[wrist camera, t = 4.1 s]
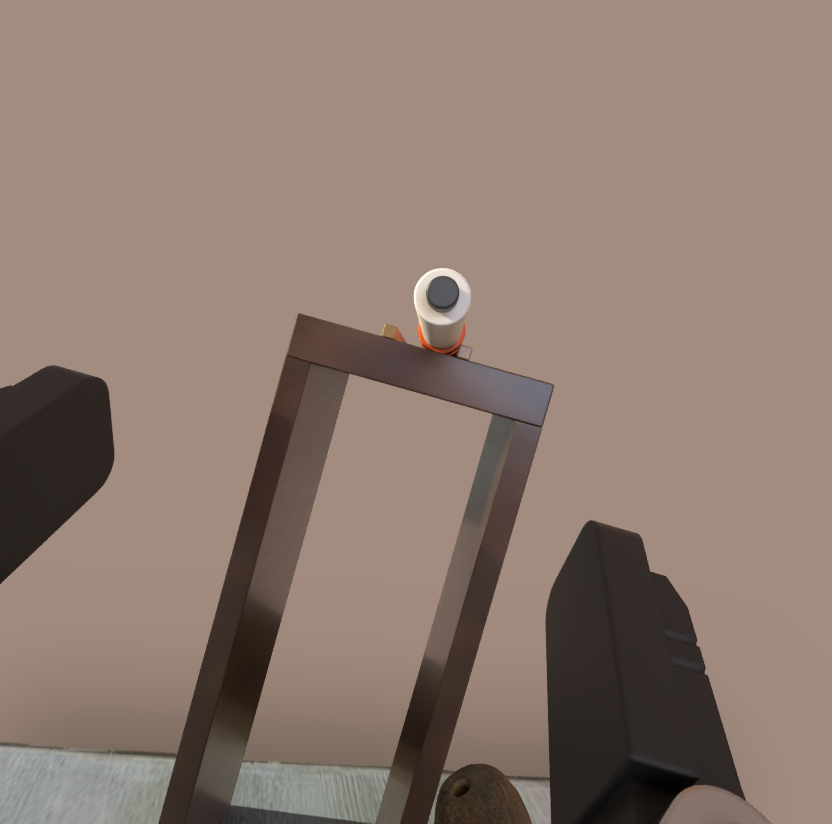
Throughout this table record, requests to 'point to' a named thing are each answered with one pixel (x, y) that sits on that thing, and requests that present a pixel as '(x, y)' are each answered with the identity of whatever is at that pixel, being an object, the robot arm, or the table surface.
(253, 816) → the table surface
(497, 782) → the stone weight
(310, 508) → the stand
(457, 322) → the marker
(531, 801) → the table surface
